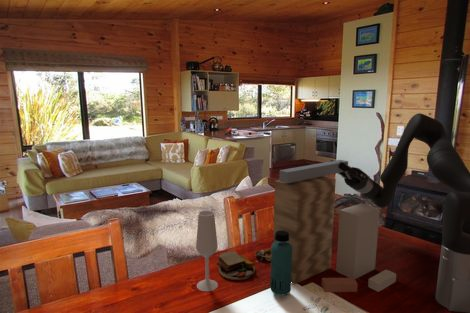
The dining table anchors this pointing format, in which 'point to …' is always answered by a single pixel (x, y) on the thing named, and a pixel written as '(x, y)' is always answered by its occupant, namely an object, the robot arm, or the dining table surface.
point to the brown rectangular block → (339, 285)
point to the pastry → (264, 254)
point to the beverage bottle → (281, 264)
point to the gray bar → (310, 171)
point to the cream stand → (357, 240)
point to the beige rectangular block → (382, 280)
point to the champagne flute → (206, 245)
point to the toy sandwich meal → (235, 266)
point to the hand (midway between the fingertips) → (335, 163)
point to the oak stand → (306, 223)
